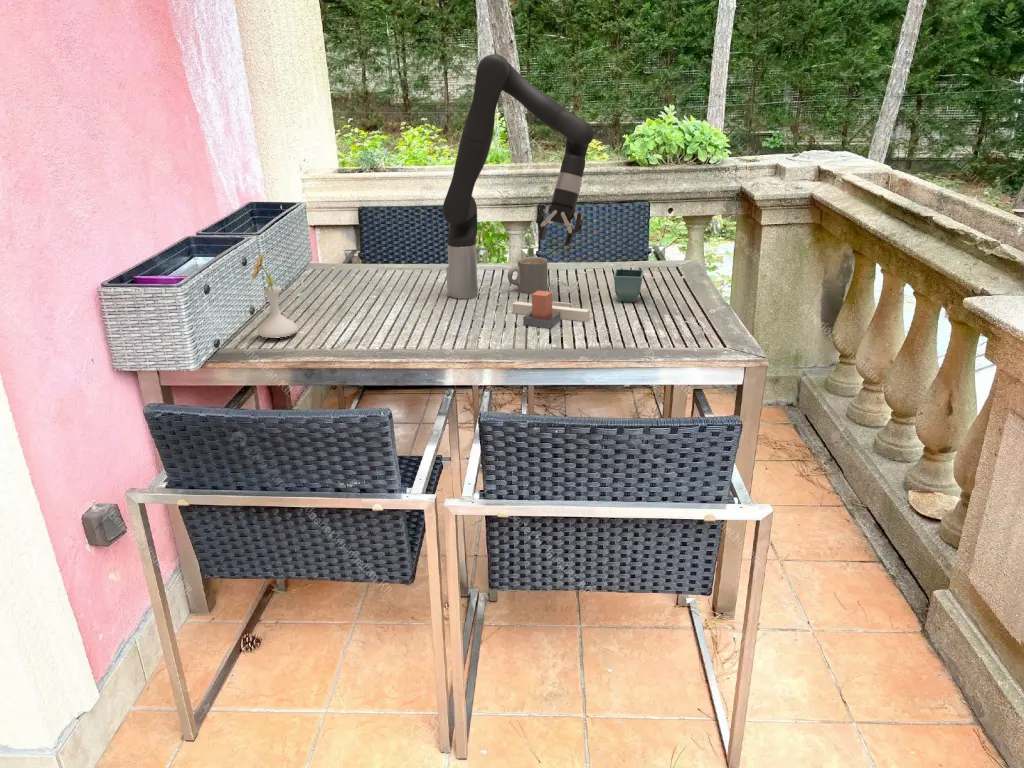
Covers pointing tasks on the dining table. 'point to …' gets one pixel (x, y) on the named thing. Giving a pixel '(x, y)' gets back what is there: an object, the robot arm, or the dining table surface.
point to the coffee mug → (530, 275)
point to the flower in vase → (273, 309)
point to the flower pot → (627, 284)
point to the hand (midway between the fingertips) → (554, 242)
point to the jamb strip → (555, 310)
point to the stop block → (542, 304)
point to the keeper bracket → (541, 320)
